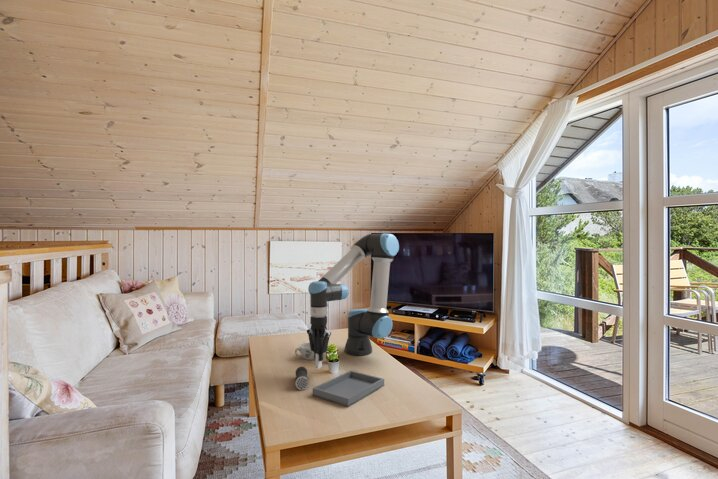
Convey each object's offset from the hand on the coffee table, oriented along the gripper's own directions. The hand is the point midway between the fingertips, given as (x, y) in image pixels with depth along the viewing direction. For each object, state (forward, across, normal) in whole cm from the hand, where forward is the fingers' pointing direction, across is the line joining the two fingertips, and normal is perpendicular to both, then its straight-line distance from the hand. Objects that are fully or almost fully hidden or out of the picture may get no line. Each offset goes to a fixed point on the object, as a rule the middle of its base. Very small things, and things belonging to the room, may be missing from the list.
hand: (318, 367), depth 172 cm
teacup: (+5, -21, +17) cm, 27 cm away
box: (+5, +20, -3) cm, 21 cm away
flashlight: (-2, -4, -4) cm, 6 cm away
